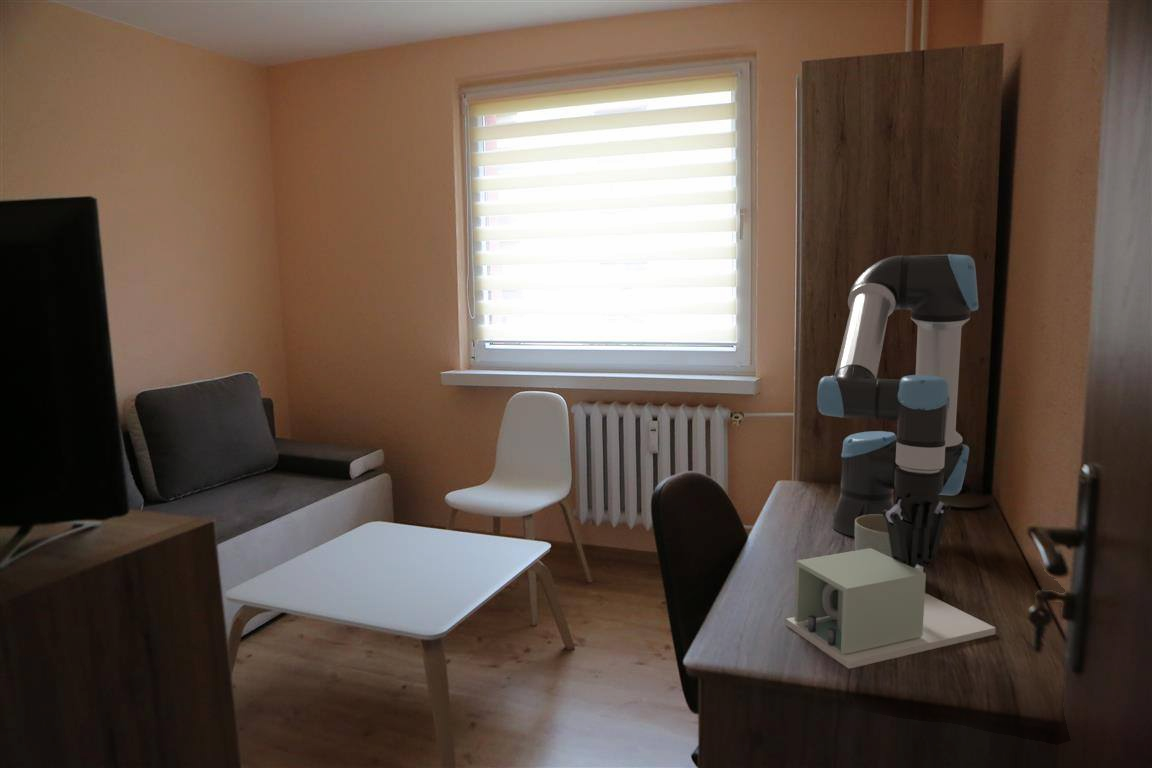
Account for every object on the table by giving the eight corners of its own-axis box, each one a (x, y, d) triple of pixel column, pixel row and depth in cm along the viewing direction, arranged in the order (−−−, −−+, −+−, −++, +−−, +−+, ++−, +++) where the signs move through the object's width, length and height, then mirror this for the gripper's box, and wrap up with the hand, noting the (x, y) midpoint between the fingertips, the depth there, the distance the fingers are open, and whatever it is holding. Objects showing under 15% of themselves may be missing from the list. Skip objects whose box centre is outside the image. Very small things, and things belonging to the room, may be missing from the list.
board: (921, 597, 143) (921, 590, 143) (995, 634, 128) (995, 627, 128) (785, 625, 132) (785, 618, 132) (848, 668, 117) (849, 661, 117)
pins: (872, 616, 132) (872, 602, 132) (898, 631, 127) (899, 617, 126) (806, 630, 128) (807, 616, 127) (831, 646, 122) (831, 632, 122)
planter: (842, 565, 159) (844, 515, 158) (899, 562, 160) (902, 513, 159) (869, 588, 147) (871, 534, 145) (930, 586, 148) (934, 532, 146)
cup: (878, 645, 122) (880, 592, 121) (815, 630, 127) (817, 580, 126) (886, 627, 128) (888, 577, 127) (826, 614, 133) (827, 565, 132)
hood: (867, 605, 136) (870, 548, 135) (922, 636, 124) (925, 573, 123) (794, 620, 131) (796, 560, 129) (844, 654, 119) (846, 588, 117)
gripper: (931, 459, 133) (924, 586, 137) (872, 466, 129) (866, 598, 132) (966, 468, 127) (958, 603, 130) (905, 476, 122) (898, 615, 125)
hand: (912, 600), depth 131 cm, fingers closed
